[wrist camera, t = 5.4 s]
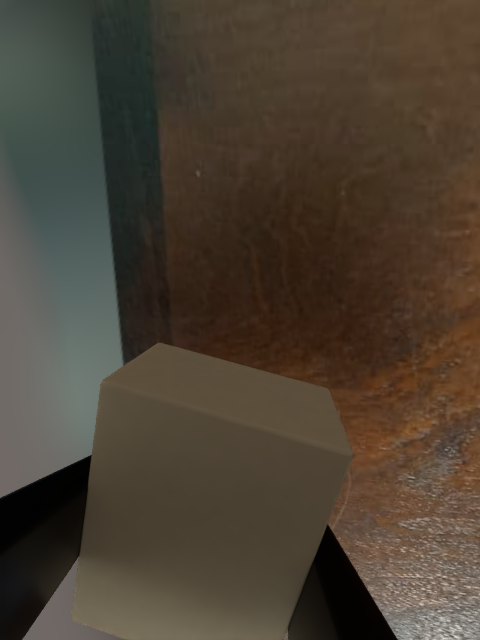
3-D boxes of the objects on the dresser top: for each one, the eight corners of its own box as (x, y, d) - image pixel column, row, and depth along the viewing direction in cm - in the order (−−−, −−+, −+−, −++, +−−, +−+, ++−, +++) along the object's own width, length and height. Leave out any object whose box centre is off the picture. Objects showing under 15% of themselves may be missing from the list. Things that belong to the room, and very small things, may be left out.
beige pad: (127, 521, 9) (68, 621, 6) (158, 340, 7) (99, 380, 5) (269, 568, 8) (265, 694, 6) (329, 387, 7) (356, 454, 5)
